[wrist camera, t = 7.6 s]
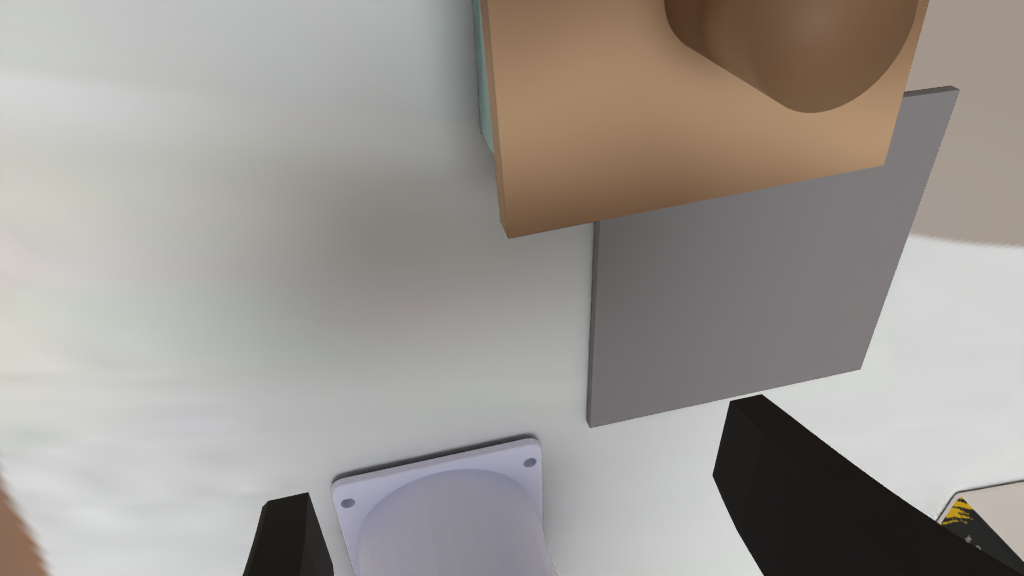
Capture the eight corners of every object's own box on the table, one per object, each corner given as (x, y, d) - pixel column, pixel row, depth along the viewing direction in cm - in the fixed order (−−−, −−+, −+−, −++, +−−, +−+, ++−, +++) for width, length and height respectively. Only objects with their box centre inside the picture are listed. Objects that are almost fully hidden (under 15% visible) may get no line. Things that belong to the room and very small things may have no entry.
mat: (854, 363, 29) (860, 369, 29) (586, 420, 27) (590, 427, 27) (950, 85, 22) (960, 89, 22) (599, 132, 20) (604, 138, 20)
